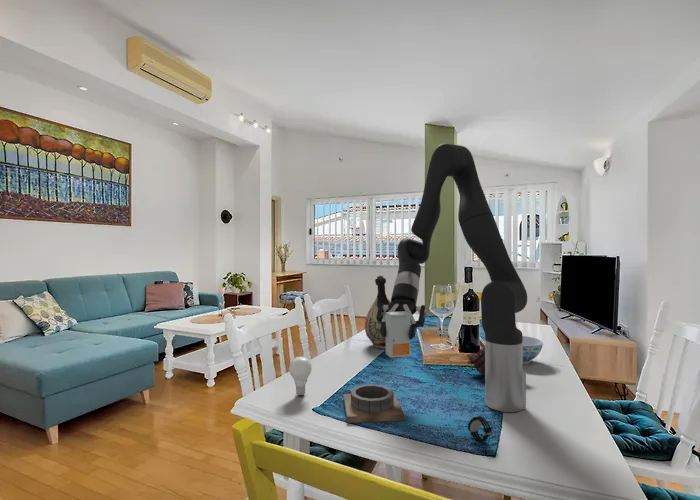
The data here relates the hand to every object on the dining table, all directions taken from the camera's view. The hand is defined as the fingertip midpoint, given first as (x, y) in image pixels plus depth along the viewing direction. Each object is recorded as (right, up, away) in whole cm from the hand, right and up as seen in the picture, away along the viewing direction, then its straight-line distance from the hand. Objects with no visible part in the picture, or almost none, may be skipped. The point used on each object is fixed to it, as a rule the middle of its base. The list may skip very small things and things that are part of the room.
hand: (396, 337), depth 106 cm
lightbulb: (-27, -18, +3) cm, 32 cm away
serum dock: (-7, -17, -6) cm, 20 cm away
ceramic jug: (+1, -17, +55) cm, 57 cm away
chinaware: (+49, -17, +33) cm, 62 cm away
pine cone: (+33, -17, +17) cm, 41 cm away
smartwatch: (+15, -18, -22) cm, 32 cm away
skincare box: (+1, -6, +2) cm, 6 cm away
